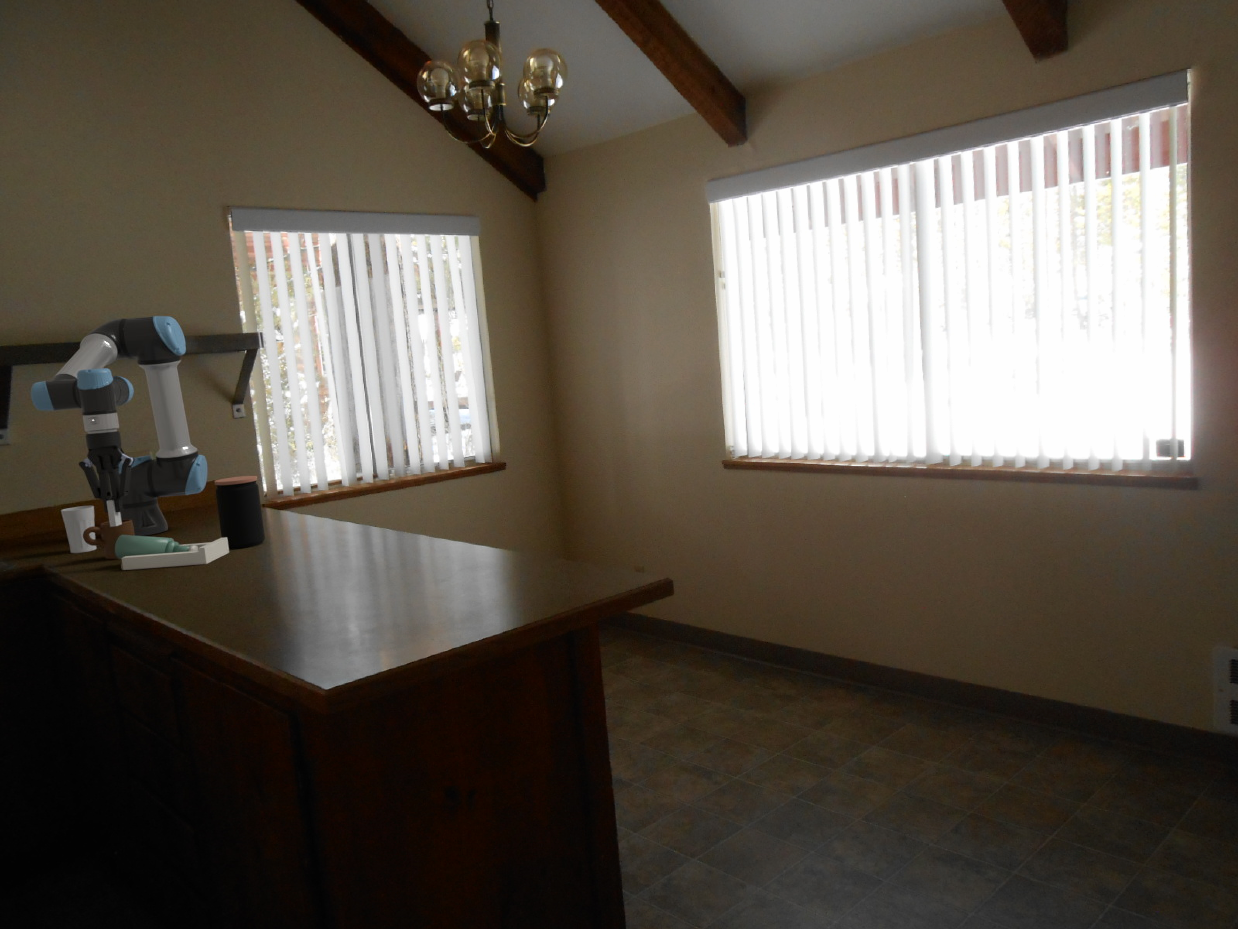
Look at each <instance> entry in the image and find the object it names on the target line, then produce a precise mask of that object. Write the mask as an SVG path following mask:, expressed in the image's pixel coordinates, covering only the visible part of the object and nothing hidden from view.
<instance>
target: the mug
mask: <svg viewBox="0 0 1238 929" xmlns="http://www.w3.org/2000/svg"><path fill="white" fill-rule="evenodd" d="M121 522H122V524H121V525H118V526H113V527H110V522H109V521H104V522H101V523H100V527H98V526H95V525H94V526H95V527H94V526H93V527H89V528H87V529H86V530H85V531H84V533H83V539H84V541H85V542H86V543H87V544H89V545H92V546H96V547H97V546H98V547H100V548H103V554H104V558H105V559H106V560H120V559H119V558H117V556H116V554H115V545H116V541H117V539H118V538H119V536H121V535H134V536H135V534H134V527H133V523H132V520H131V519H123V520H121ZM91 532H93V533H95V534H100V535H101V538H95V539H92V538H91V537H90V535H89V534H90V533H91Z"/></svg>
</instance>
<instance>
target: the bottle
mask: <svg viewBox="0 0 1238 929" xmlns="http://www.w3.org/2000/svg"><path fill="white" fill-rule="evenodd" d="M179 545H180V543H179V542H178V541H175V540H174V539H173V538H172V537H160V536H158V537H157V536H149V535H146V536H134V535H121V536H119V538H118V539H117V541H116V545H115V554H116V556H117V558H119V559H118V560H122V558H123V557H125V556H136V555H150V554H163V553H176V552H189V551H198V547H197V546H196V545H191V546H179Z"/></svg>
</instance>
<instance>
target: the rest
mask: <svg viewBox="0 0 1238 929" xmlns="http://www.w3.org/2000/svg"><path fill="white" fill-rule="evenodd" d="M191 545H196V546H197V547H198V551H189V552H176V553H163V554H150V555H136V556H125V557H123V558H122V559H121V564H120V568H121V570H122V571H126V570H127V571H130V570H141V569H142V570H143V569H154V568H155V569H157V568H169V567H171V568H172V567H182V566H183V567H185V566H193V565H195V566H197V565H207V564H209V563H211V562H213V561H215V560H217V559H219V558H221V557H223V556H225V555H227V554H229V553H230V549H229V547H228V539H227V537H225V538H222V537H220V538H218V539H215V540H214V541H211V542H201V543H200V542H198V543H186V544H179V546H191Z"/></svg>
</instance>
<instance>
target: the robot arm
mask: <svg viewBox="0 0 1238 929" xmlns="http://www.w3.org/2000/svg"><path fill="white" fill-rule="evenodd" d="M186 344H187V343H186V338H185V335H184V332H183V330H182V328H181V326H180V324H179V322H178V321H177V320H176V319H175V318H174V317H172V316H166V315H152V316H143V317H131V318H130V317H128V318H117V319H113V320H110V321H107V322H105V323H103V324H101V325H99V326H97V327H95V328H94V329H92V330H91V331H90V332H89V333H87V335H85V336H84V338H83V339H82V340H81V341H80V344H79V349H78V350H77V351H76V352H75V353H74V354H73V356H71V358H70V359H69V360H68V361H67V362H66V363H65V364H64V365H63V366H62V367H61V368H60V369H59V370H58V372H57V373H56V374H55V375H54V376H53V377H52V378H51V379H50V380H43V381H38V382H37V381H36V382H35V383H33V384H32V386H31V389H30V398H31V402H32V404H33V406H34V407H35V408H36V409H37V410H38V411H40V412H48V411H49V412H50V411H52V412H57V411H65V410H66V411H67V410H76V409H81V414H82V420H83V427H84V431H85V433H86V435H85V441H86V447H87V450H88V453H87V454H86V456H87V457H86V458H85V459H84V460H81V461H79V462H78V465H79V467H80V468H81V470H82V471H83V472H84V475H85V477H86V480H87V483H88V485H89V488H90V490H91V492H92V495H93V497H94V499H98V500H101V501H102V502H103V507H104V508H103V509H104V512H105V514H108V522H110V527H113V526H118V525H121V524H122V522H121V520H123V519H131V520H132V523H133V527H134V534H135V536H151V535H155V534H160V533H164V532H167V531H168V529H169V528H168V522H167V520H166V517H165V516H164V515H163V513H162V511H161V510H162V509H160V506H159V502H158V498H164V497H165V498H166V497H174V496H189V495H196V494H200V493H201V492H203V490H205V487H206V484H207V480H208V462H207V459H206V457H205V455H202V454H199V452H198V448H197V447H195V445H193V444H192V443H191V438H190V433H189V432H190V431H189V426H188V422H187V416H186V412H185V411H186V410H185V405H184V400H183V394H182V387H181V383H180V378H179V373H178V365H179V364H181V362H182V356H183V355H185V353H186V350H187V347H186ZM128 359H129V360H130V359H131V360H133V359H136V361H137V362H136V363H137V365H138V367H139V368H141V369H142V370H144V372H145V376H146V377H145V378H146V383H147V388H148V394H149V399H150V403H151V408H152V414H153V418H154V419H153V420H154V425H155V429H156V434H157V435H156V436H157V440H158V447H159V450H158V451H156V453H155V458H154V459H153V456H152V455H150V454H147V455H142V456H137V457H133V456H128V455H127V454H125V452H124V450H123V448H122V438H121V432H120V431H119V430H117V429H119V428H120V422H119V417H118V410H117V406H119V407H121V406H123V405H125V404H127V403H129V402H130V401H131V400H132V399H133V396H134V393H135V392H134V390H135V389H134V385H133V384H132V382H131V381H129V380H128V378H125V377H122V376H119V375H112V371H111V369H110V368H107V367H106V368H105V366H108V365H110V364H112V363H114V362H115V361H119V360H128ZM93 465H94V466H95V468H96V470H95V468H94V466H93Z"/></svg>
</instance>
